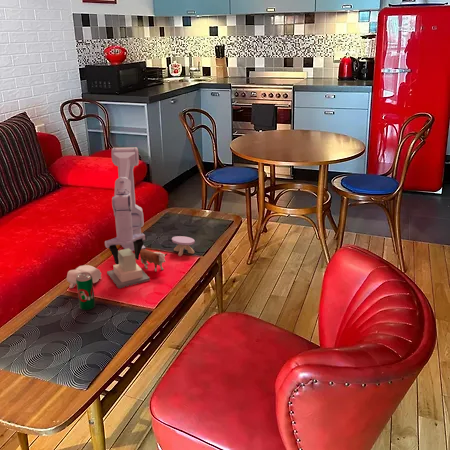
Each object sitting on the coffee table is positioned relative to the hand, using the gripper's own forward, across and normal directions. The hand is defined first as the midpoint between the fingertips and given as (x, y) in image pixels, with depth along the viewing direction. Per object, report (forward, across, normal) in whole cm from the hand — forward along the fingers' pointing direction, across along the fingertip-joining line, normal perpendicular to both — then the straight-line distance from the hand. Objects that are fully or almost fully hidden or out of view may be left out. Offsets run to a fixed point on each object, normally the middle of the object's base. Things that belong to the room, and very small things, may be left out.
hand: (127, 261), depth 184 cm
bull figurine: (+7, +11, +1) cm, 13 cm away
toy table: (+7, +28, +10) cm, 30 cm away
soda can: (+7, -19, -14) cm, 24 cm away
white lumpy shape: (+7, -16, +1) cm, 18 cm away
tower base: (+7, 0, 0) cm, 7 cm away
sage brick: (+3, 0, 0) cm, 3 cm away
